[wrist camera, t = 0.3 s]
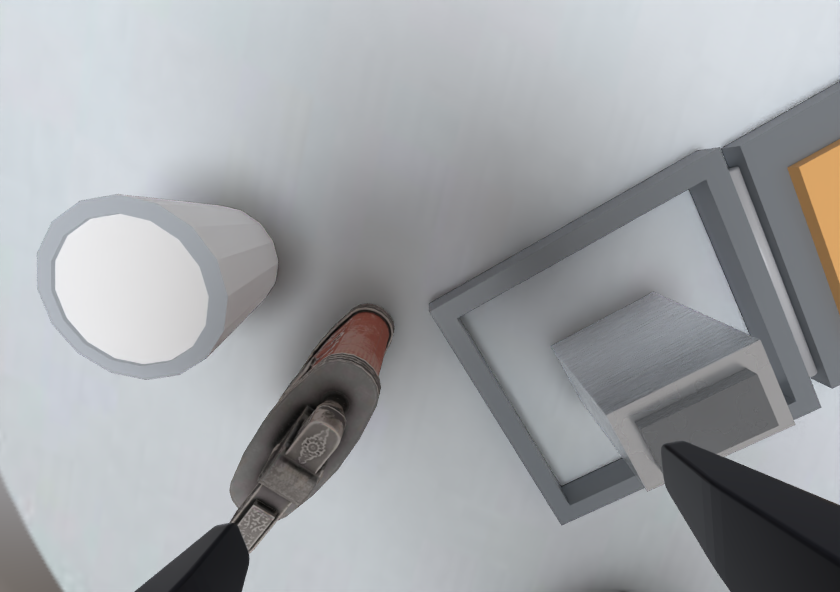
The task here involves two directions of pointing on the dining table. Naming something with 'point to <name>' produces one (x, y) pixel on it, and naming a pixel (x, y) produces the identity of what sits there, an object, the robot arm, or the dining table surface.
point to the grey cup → (152, 280)
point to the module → (672, 383)
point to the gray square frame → (693, 172)
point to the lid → (798, 220)
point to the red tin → (312, 423)
